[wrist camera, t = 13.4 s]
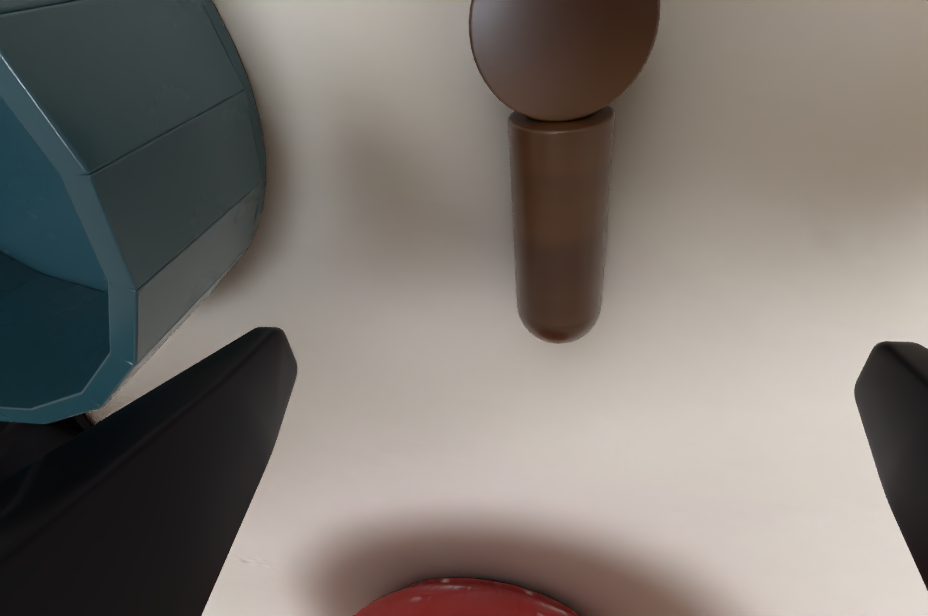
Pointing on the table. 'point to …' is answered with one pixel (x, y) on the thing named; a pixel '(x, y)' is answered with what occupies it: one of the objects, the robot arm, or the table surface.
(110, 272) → the pot
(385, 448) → the table surface
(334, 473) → the table surface
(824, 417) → the table surface
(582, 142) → the wooden spoon
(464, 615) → the mixing bowl
